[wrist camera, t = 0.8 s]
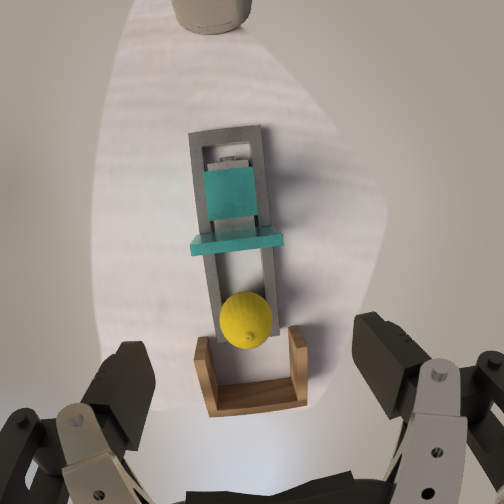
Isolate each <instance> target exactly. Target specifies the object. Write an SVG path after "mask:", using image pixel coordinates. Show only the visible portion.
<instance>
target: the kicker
mask: <svg viewBox="0 0 504 504" xmlns="http://www.w3.org/2000/svg"><path fill="white" fill-rule="evenodd" d="M219 160H220V162H219V163H211V164H207V166H208V171H207V172H203V175H204V184H205V193H206V202H207V210H208V218H209V221H213V220H214V226H215V233H209V234H200V235H196V237H195V238H194V240H193V241H192V242H191V244H190V250H191V256H198V255H206V254H215V253H223V252H232V251H240V250H249V249H257V248H266V247H274V246H283V234H282V233H281V232H280V231H279V230H278V229H277V228H276V227H275V226H269V227H260V228H255V221H254V216H256V215H258V210H257V200H256V191H255V181H254V172H253V166H251V167H249V164H248V159H246V160H236V161H235V157H234V156H231V157H223V158H219Z"/></svg>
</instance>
